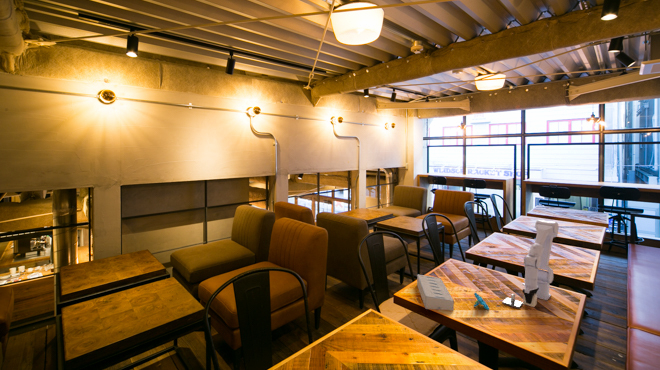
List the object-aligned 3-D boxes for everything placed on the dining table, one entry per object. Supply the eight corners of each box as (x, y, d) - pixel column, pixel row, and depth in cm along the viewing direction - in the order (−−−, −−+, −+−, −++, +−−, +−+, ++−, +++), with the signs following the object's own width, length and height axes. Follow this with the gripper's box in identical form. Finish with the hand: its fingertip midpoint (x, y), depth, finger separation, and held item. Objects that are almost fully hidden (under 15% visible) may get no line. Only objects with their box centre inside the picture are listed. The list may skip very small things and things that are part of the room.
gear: (490, 311, 153) (476, 294, 156) (481, 317, 155) (467, 301, 158) (489, 304, 163) (475, 289, 166) (481, 310, 165) (467, 295, 168)
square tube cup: (526, 300, 167) (526, 290, 166) (536, 304, 163) (537, 293, 163) (523, 303, 164) (523, 293, 163) (533, 307, 160) (534, 296, 159)
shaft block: (507, 299, 169) (507, 289, 169) (523, 304, 163) (523, 294, 163) (502, 303, 164) (502, 293, 164) (518, 308, 158) (519, 298, 158)
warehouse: (453, 311, 158) (453, 297, 157) (425, 309, 160) (425, 296, 159) (440, 286, 187) (440, 275, 186) (417, 285, 189) (417, 274, 189)
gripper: (526, 272, 170) (525, 294, 171) (518, 279, 160) (517, 303, 161) (541, 275, 165) (540, 299, 166) (534, 283, 155) (532, 308, 156)
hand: (530, 301), depth 163 cm, fingers closed on square tube cup, 5 cm apart
